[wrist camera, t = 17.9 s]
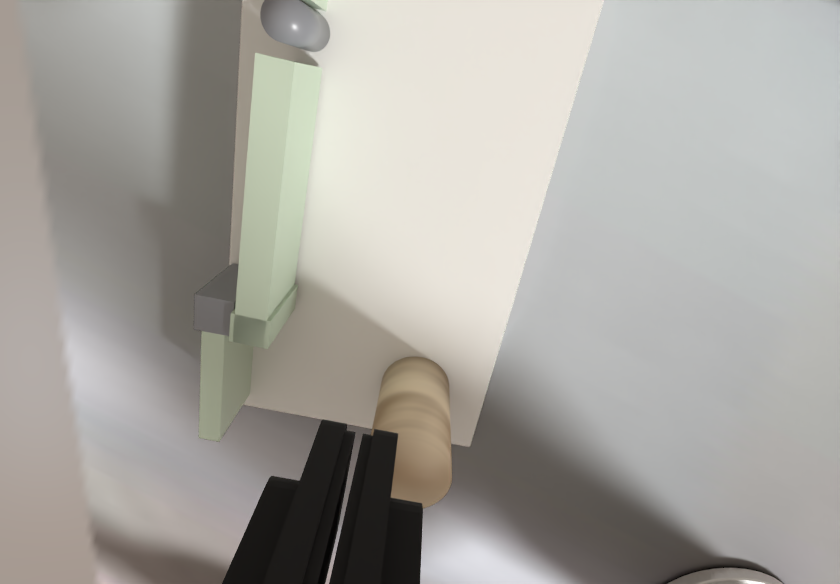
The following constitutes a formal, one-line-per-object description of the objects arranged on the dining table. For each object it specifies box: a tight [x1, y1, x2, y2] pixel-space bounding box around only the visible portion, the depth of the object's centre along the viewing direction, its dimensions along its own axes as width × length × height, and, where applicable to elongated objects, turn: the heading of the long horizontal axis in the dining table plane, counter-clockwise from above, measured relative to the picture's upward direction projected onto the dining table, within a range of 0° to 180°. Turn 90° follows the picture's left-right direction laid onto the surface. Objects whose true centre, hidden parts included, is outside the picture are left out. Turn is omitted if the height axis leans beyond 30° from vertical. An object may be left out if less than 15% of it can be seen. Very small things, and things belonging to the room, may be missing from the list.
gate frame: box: [194, 0, 604, 447], centre depth 26 cm, size 27×17×5 cm, turn 169°
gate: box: [229, 53, 322, 349], centre depth 24 cm, size 14×2×5 cm, turn 168°
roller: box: [371, 357, 452, 508], centre depth 28 cm, size 4×4×8 cm
